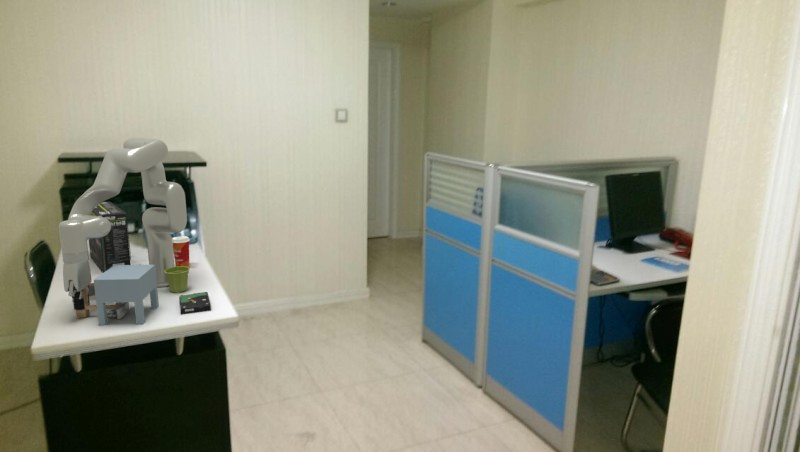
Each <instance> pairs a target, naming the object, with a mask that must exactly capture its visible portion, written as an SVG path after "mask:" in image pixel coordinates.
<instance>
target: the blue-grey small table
mask: <svg viewBox="0 0 800 452" xmlns="http://www.w3.org/2000/svg"><path fill="white" fill-rule="evenodd" d="M93 283H94V288H95V297H96V300H95V305H97V309H96V313H97V319H98V326H107V324H108V318H107V312H108V311H107V309H106V305H107V304H108V303H109V304H110V303H112V304H113V303H115V305H116V304H123V303H124V302H129V303H134V313H135V323H136V325H144V323H145V322H146V321H145V320H146V319H145V309H144V299H146V297H148V295H149V298H150V308H151V309H154V310H155V309H158V308H159V307H160V303H159V292H158V287H157V280H156V269H155V265H149V264H131V265H114V266H112V267H111V268H110V269H108V270H107V271H105V272H104V273H103V272H102V273H101V274H100V275H98V276H97V277H95V278H94V279H93ZM151 309H150V310H151Z"/></svg>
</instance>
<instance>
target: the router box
mask: <svg viewBox="0 0 800 452" xmlns="http://www.w3.org/2000/svg"><path fill="white" fill-rule="evenodd" d="M90 215H92V216H100V217H104V218H106V219H107V220H108V221H109V222H110V224H111V230H110V232H109V233H108V234H107V235H106V236H104V237H101V238H93V239H88V249H89V259H91V260H92V261H93V262H94V264H95V265H96V266H97V268H99V270H100V271H101V272H102V274H103V273H104V272H105V271H107V270H108V269H110V268H111V267H112V266H114V265H132V264H131V260H132V255H131V251H130V250H131V245H130V235H129V224H128V223H129V222H128V216H127V212H125V211H124V210H122V209H121V208H120V207H118V206H117V205H115V204H114V202H113V203H112V202H111V201H103V202H101V203H99V204H98V205H97V206H96V207H95V208H94V209H93V211H92V212H91V214H90Z"/></svg>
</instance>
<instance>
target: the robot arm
mask: <svg viewBox="0 0 800 452" xmlns="http://www.w3.org/2000/svg"><path fill="white" fill-rule="evenodd" d="M122 144H123V146H122V148H121V147H116V148H114V147H113V148H110V149H108V150H107V151H106V153H105V154H104V157H103V160H102V163H101V165H100V167H99V170H98V172H97V176H96V178H95V180H94V183H93V184H92V186H90V187H89V188H88V189H86V191H84V193H83V194H82V195H80V196H79V197H78V198H77V200H76V201H75V202H74V204H73V205H72V208H71V210H70V213H69V215H68V218H67V220H63V221H61V222H59V224H58V232H59V233H58V234H59V240H60V248H61V257H62V262H63V268H62V276H63V278H62V280H63V287H64V288H63V290H64V291H65V292H68V297H71V300H72V299H73V302H72V305H73V310H75V311H76V310H84V309H85V305H84V298H82V289H84V288H85V287H87V294H88V302H89V305H91V302H90V301H91V300H89V285H90V283H92V280H93V279H92V271H91V267H90V262H89V260H90V253H89V245H88V241H89V239H93V238H101V237H104V236H106V235H107V234H108V233H109V232H110V230H111V224H110V222H109V221H108V220H107V219H106V218H104V217H100V216H92V215H90V214H91V212H92V211H93V209H94V208H95V207H96V206H97V205H98V204H99V203H101V202H106V201H107V200H109V199H111V198H114V197H116V196H117V195H119V194H120V193H121V190H122V187H123V184H124V182H125V179H126V177H127V174H128V173H135V174H137V173H140V174H141V181H142V192H143V197H144V200H145V202H147V204H150V205H156V206H155V207H154V206H153V207H149V208H147V209H146V210H144V212H143V213H142V216H141V221H142V227H143V230H144V233H145V238H146V245H147V257H148V265H155V269H156V280H157V288H163V287H164V288H165V287H170V286H169V282H168V279H167V276H166V273H165V272H164V270H166V269H168V268H171V267H176V265H175V259H174V252H173V241H172V238H173V237H172V235H171V233H172V234H175V233H176V234H177V233H181V232H183V231H184V230H185V229H186V226H187V222H188V215H187V203H186V202H187V201H186V192H185V190H184V188H183V187H182V185H181V184H180V183H177V182H175V181H167V179H166V172H165V167H164V164H163V162H164V160H166V158H167V156H168V154H169V149H168V146H167V144H166V143H165V142H164V141H163V140H161V139H159V138H158V139H157V138H141V137H136V138H135V137H132V138H128V139H125V141H124V142H123V143H122ZM157 206H158V207H157ZM159 206H165V207H159ZM75 289H77V290H75ZM75 292H79V294H78V293H75Z"/></svg>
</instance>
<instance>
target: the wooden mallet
mask: <svg viewBox="0 0 800 452" xmlns="http://www.w3.org/2000/svg"><path fill="white" fill-rule="evenodd" d="M75 290H77V289H75ZM75 293H78V294H79V292H75ZM82 298H84V305H85V309H84V310H75V315H76V318H87V317H88V316H90V314H91V312H90V311H91V310H92V311H93V310H97V305H96V304H90V305H89V302H88V294H87V287H85V288H84V289H82ZM114 309H117V318H116V319H117V320H122V318H123V317H125V316H126V315H127V313H129V311H130V309H131V308H130V302H124V303H123V304H116V303H115V304H106V310H114Z"/></svg>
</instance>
